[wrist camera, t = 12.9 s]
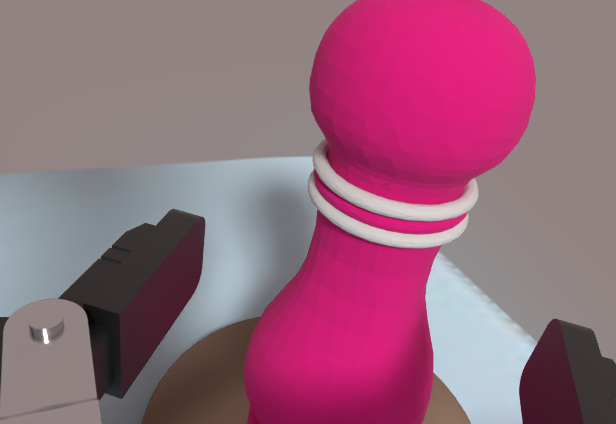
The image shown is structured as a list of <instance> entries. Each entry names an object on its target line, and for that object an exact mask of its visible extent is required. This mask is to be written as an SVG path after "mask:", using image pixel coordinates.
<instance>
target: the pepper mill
mask: <svg viewBox="0 0 616 424" xmlns="http://www.w3.org/2000/svg"><path fill="white" fill-rule="evenodd" d="M535 82H536V77H535V69H534V62H533V58H532V56H531V53H530V50H529V48H528V45H527V43H526V40H525V39H524V37H523V36H522V34H521V33H520V31H519V30H518V28H517V27H516V26H515V25H514V24H513V23H512V22H511V21H510V20H509V19H508V18H507V17H506V16H505V15H503V14H502V13H500V12H499V11H498V10H496V9H495V8H493V7H492V6H491V5H489V4H487V3H485V2H483V1H481V0H357V1H355V2H354V3H353V4H351V5H350V6H348V7H347V8H346V9H344V10H343V12H342V13H341V14H340V15H339V16H338V17H337V18H336V19H335V20H334V21H333V22H332V24H331V25H330V26H329V28H328V29H327V31H326V32H325V34H324V36H323V38H322V40H321V42H320V45H319V47H318V50H317V52H316V55H315V59H314V63H313V68H312V73H311V77H310V86H309V91H310V100H311V110H312V113H313V115H314V117H315V120H316V122H317V124H318V126H319V127H320V129H321V131H322V132H323V134H324V136H325V137H326V139H324V140H323V141H322V142H321V143H320V144H319V145H318V146H317V147H316V149H315V151H314V154H313V165H314V170H313V171H312V173H311V174H310V177H309V180H308V192H309V195H310V198H311V201H312V202H313V204H314V205H315V207H316V208H317V209H318V210H317V220H316V227H315V230H314V234H313V237H312V241H311V244H310V248H309V251H308V255H307V257H306V259H305V261H304V263H303V265H302V267H301V269H300V270H299V272H298V273H297V274H296V275H295V277H294V278H293V279H292V280H291V281H290V282H289V283H288V284H287V285H286V286H285V287H284V288H283V290H282V291H281V292H280V293H279V294H278V295H277V296H276V297H275V299H274V300H273V301H272V302H271V303H270V304H269V305H268V306H267V308H266V309H265V311H264V313H263V314H262V316H261V318H260V319H259V321H258V323H257V325H256V326H255V328H254V331H253V333H252V336H251V339H250V343H249V346H248V350H247V353H246V357H245V364H244V383H245V389H246V395H247V397H248V400H249V402H250V409H249V415H248V421H247V424H422V422H423V420H424V417H425V413H426V410H427V407H428V404H429V400H430V396H431V392H432V387H433V349H432V343H431V337H430V331H429V325H428V319H427V309H426V300H425V295H426V284H427V281H428V277H429V274H430V271H431V267H432V264H433V261H434V259H435V257H436V255H437V253H438V251H439V249H440V247H441V245H443V244H447V243H449V242H451V241H453V240H454V239H456V238H457V237H458V236H460V235H461V234H462V232H463V231H464V230H465V228H466V226H467V223H468V219H469V216H468V211H469V210H470V209H471V208H472V207H473V206H474V204H475V202H476V200H477V198H478V187H477V182H476V181H475V179H474V178H475V177H477V176H479V175H481V174H483V173H484V172H486V171H488V170H490V169H492V168H494V167H495V166H497V165H498V164H500V163H501V162H502V161H503V160H504V158H506V156H507V155H508V154H509V153H510V152H511V151H512V150H513V149H514V147H515V146H516V145H517V144H518V143H519V141H520V139H521V137H522V135H523V133H524V132H525V130H526V128H527V126H528V122H529V119H530V115H531V111H532V108H533V104H534V100H535V84H536V83H535Z"/></svg>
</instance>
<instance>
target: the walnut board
mask: <svg viewBox="0 0 616 424" xmlns="http://www.w3.org/2000/svg"><path fill="white" fill-rule="evenodd" d="M260 318H261V317H257V318H253V319H249V320H244V321H242V322H239V323H236V324H233V325H230V326H227V327H225V328H223V329H221V330H219V331H217V332H215V333H212V334H211V335H209V336H208V337H206V338H204V339H203V340H201V341H200V342H198V343H197V344H195V345H194V346H193V347H192V348H190V349H189V350H188V351H187V352H185V353H184V354H183V355H182V356H181V357H180V358H179V359H178V360H177V361H176V362H175V363H174V364H173V365H172V366H171V367H170V369H169V370H168V371H167V373H166V374H165V376H164V377H163V378H162V380H161V381H160V382H159V384H158V386H157V388H156V390H155V391H154V393H153V395H152V397H151V399H150V401H149V404H148V406H147V409H146V412H145V415H144V417H143V420H142V424H247V421H248V415H249V409H250V402H249V400H248V397H247V395H246V389H245V383H244V364H245V357H246V353H247V350H248V346H249V343H250V339H251V336H252V333H253V331H254V328H255V326H256V325H257V323H258V321H259V319H260ZM422 424H471V423H470V421H469V419H468V417H467V415H466V413H465V412H464V410H463V408H462V407H461V405H460V404H459V402H458V401H457V399H456V398H455V396H454V395H453V394H452V393H451V392H450V390H449V389H448V388H447V387H446V385H445V384H444V383H443V382H442V381H441V380H440V379H439V378H438V377H437V376H436V375H435V374H434V373H433V387H432V392H431V396H430V400H429V404H428V407H427V410H426V413H425V417H424V420H423V422H422Z"/></svg>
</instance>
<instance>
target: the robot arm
mask: <svg viewBox="0 0 616 424" xmlns="http://www.w3.org/2000/svg"><path fill="white" fill-rule="evenodd" d="M204 236H205V219H204V218H203V217H200V216H197V215H193V214H190V213H186V212H183V211H179V210H176V209H172V210H170V211H169V212H168V213H167V214H166V215H165V216H164V217H163V219H162V220H161V221H160V222H159V223H158V224H157V225H156V226H154V225H151V224H147V223H145V224H142V225H140V226H138V227H136V228H134V229H131V230H129V231H127V232H125V233H124V234H123V235H122V236H121V237H120V238H119V239H118V240H117V241H116V242H115V243H114V244H113V245H112V248H109V249H108V250H107V251H106V252H105V253H104V254H103V255H102V256H101V259H98V260H97V261H96V262H95V263H94V264H93V265H92V266H91V267H90V268H89V269H88V270H87V271H86V272H85V273H84V274H83V275H82V276H81V277H80V278H79V279H78V280H77V281H76V282H75V283H74V284H73V285H71V286H70V287H69V288H68V289H67V290H66V291H65V292H64V293H63V294H62V295H61V296H60V297H59V298H58V299H45V300H40V301H36V302H33V303H30V304H28V305H25V306H24V307H22V308H20V309H18V310H17V311H16V312H14V313H13V314H12V315H11V316H10V317H0V424H102V422H101V414H100V406H99V400H100V399H101V397H102V396H103V395H104V393H106V394H109V395H112V396H115V397H118V398H121V399H122V398H123V396H124V395H125V394H126V392H127V391H128V389H129V388H130V386H131V385H132V383H133V382H134V380H135V379H136V377H137V376H138V374H139V373H140V372H141V370H142V369H143V367H144V366H145V364H146V363H147V361H148V360H149V358H150V357H151V355H152V354H153V352H154V351H155V350H156V348H157V347H158V345H159V344H160V342H161V341H162V339H163V338H164V336H165V335H166V333H167V332H168V330H169V329H170V328H171V326H172V325H173V323H174V322H175V320H176V319H177V317H178V316H179V314H180V313H181V311H182V310H183V308H184V307H185V306H186V304H187V303H188V301H189V300H190V298H191V297H192V295H193V294H194V292H195V290H196V288H197V285H198V283H199V280H200V276H201V271H202V261H203V249H204ZM519 396H520V404H521V412H522V420H523V424H616V364H615V363H614V361H613V360H612V359H608V358H605V357H602V356H601V353H600V350H599V347H598V343H597V340H596V337H595V334H594V332H593V330H591V329H589V328H586V327H582V326H579V325H576V324H572V323H569V322H565V321H561V320H558V319H553V320H552V321H551V322H550V323H549V324H548V326H547V328H546V329H545V331H544V333H543V335H542V336H541V338H540V340H539V342H538V344H537V345H536V347H535V349H534V351H533V352H532V354H531V356H530V358H529V360H528V361H527V363H526V365H525V367H524V370H523V372H522V376H521V380H520V387H519Z"/></svg>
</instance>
